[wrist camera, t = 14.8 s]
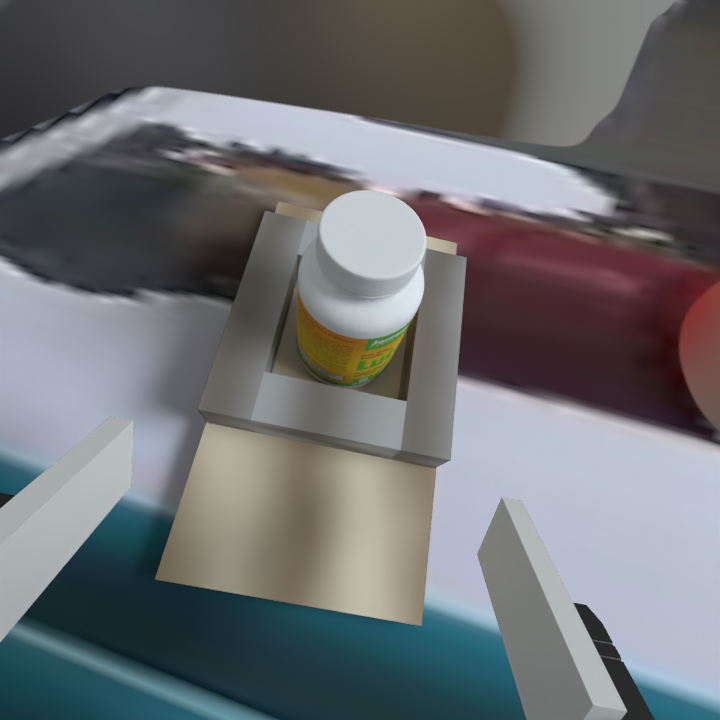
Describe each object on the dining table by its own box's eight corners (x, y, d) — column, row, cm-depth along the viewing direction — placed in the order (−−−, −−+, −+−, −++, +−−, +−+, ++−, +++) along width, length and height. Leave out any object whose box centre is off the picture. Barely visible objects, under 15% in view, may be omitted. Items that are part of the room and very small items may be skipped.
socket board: (450, 254, 29) (471, 217, 26) (414, 621, 20) (438, 637, 17) (279, 214, 28) (276, 170, 25) (162, 576, 19) (134, 585, 16)
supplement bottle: (354, 410, 22) (393, 326, 14) (276, 351, 23) (264, 235, 14) (408, 340, 25) (472, 228, 16) (335, 288, 25) (357, 152, 16)
